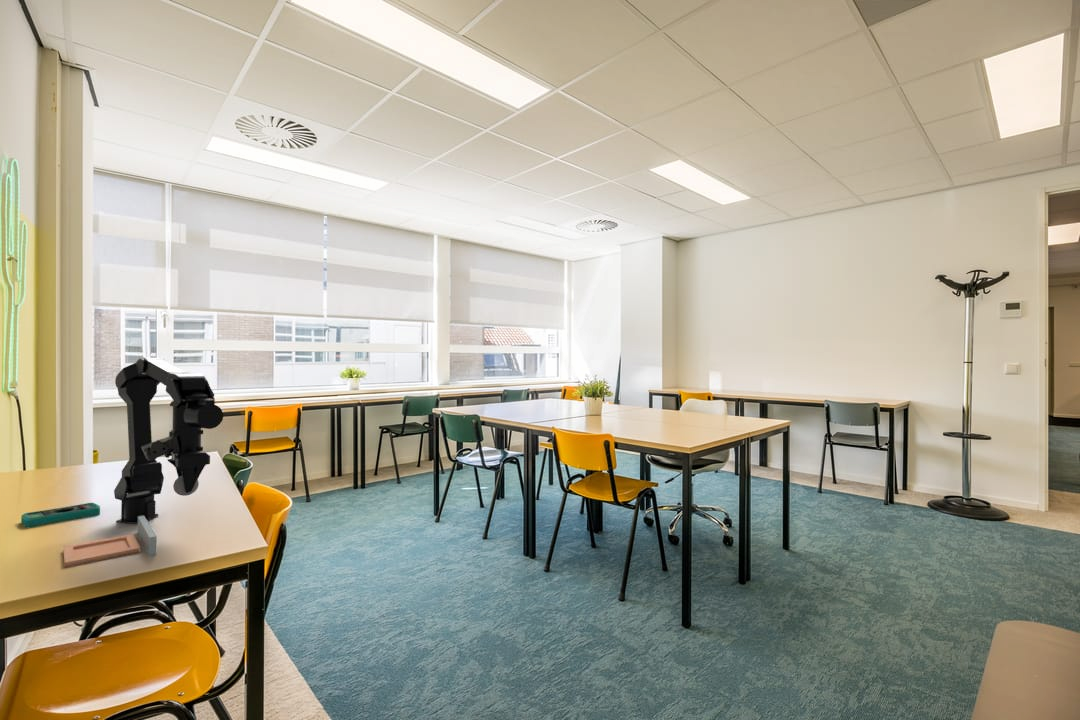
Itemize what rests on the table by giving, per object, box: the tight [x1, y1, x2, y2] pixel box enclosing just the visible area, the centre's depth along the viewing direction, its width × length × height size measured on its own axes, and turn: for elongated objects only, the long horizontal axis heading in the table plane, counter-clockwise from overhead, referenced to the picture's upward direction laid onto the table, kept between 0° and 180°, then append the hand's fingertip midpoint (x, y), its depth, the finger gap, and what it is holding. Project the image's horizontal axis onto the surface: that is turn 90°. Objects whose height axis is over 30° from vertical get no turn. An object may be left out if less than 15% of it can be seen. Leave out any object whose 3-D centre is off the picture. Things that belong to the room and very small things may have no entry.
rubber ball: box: [172, 476, 200, 496], centre depth 121 cm, size 5×5×5 cm
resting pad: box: [62, 533, 141, 568], centre depth 110 cm, size 12×12×1 cm
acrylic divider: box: [137, 516, 158, 557], centre depth 115 cm, size 20×1×4 cm, turn 45°
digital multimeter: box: [20, 502, 101, 529], centre depth 132 cm, size 7×15×3 cm, turn 143°
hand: (185, 490), depth 121 cm, fingers closed on rubber ball, 5 cm apart
